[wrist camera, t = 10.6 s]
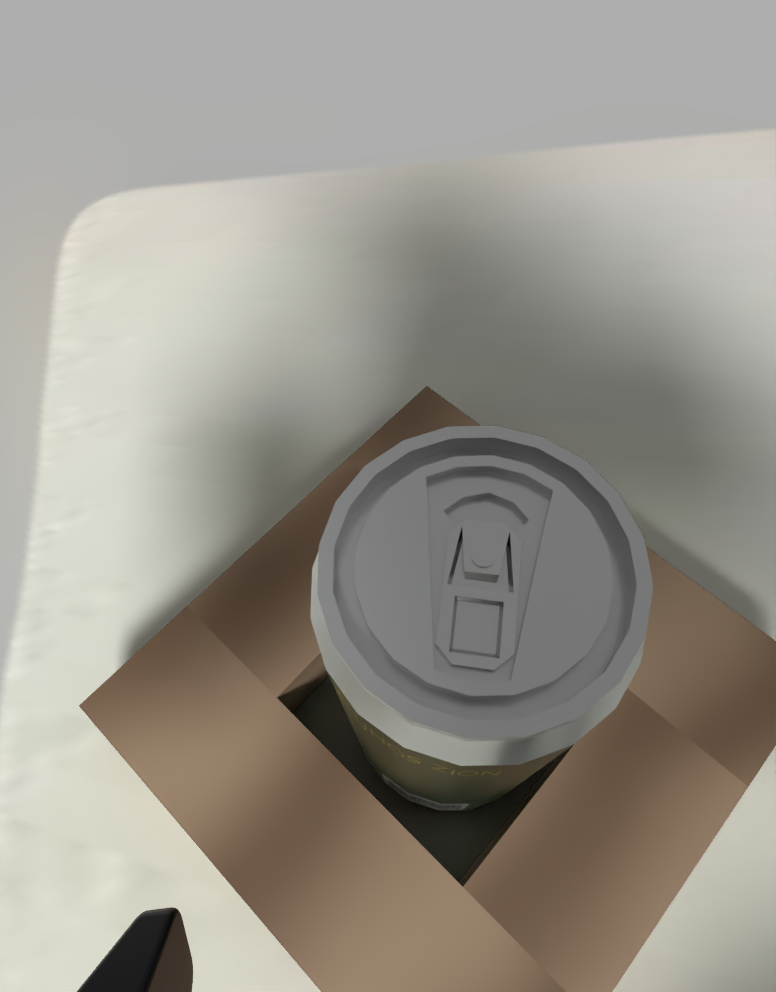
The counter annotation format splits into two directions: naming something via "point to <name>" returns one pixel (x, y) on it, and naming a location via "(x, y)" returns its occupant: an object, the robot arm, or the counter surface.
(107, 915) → the counter surface
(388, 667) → the beer can
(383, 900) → the hole board
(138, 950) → the robot arm
